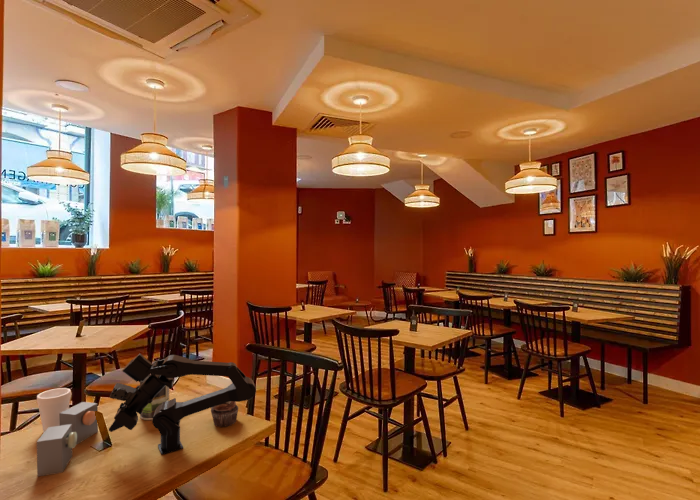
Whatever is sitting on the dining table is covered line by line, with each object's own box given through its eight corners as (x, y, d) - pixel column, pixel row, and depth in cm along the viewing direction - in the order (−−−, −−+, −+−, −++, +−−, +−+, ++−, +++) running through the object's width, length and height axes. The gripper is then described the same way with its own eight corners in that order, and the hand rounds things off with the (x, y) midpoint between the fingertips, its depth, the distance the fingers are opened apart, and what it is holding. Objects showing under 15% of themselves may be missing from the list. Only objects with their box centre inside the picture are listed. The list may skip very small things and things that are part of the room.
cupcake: (239, 425, 144) (239, 398, 143) (211, 430, 140) (211, 402, 140) (237, 414, 153) (237, 388, 152) (210, 418, 149) (210, 391, 149)
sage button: (77, 443, 122) (76, 429, 122) (72, 450, 118) (72, 436, 117) (53, 446, 120) (53, 432, 120) (47, 454, 116) (47, 439, 115)
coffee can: (156, 422, 146) (155, 384, 146) (133, 418, 149) (133, 380, 149) (176, 410, 156) (175, 374, 155) (154, 406, 159) (154, 371, 158)
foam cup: (44, 439, 133) (43, 400, 133) (32, 431, 138) (32, 394, 138) (76, 427, 141) (75, 391, 141) (64, 421, 146) (63, 386, 146)
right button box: (97, 431, 139) (97, 403, 138) (75, 445, 130) (75, 414, 129) (82, 430, 140) (82, 401, 139) (59, 443, 131) (59, 413, 130)
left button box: (72, 455, 123) (71, 424, 123) (62, 472, 115) (61, 438, 115) (49, 459, 121) (48, 427, 121) (37, 476, 113) (36, 441, 113)
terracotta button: (96, 421, 136) (96, 408, 136) (85, 427, 132) (85, 414, 131) (80, 419, 137) (80, 407, 137) (69, 425, 133) (69, 412, 133)
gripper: (132, 365, 133) (95, 403, 129) (121, 385, 115) (78, 429, 112) (159, 385, 136) (124, 422, 132) (152, 408, 118) (111, 451, 115)
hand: (109, 430), depth 123 cm, fingers closed
